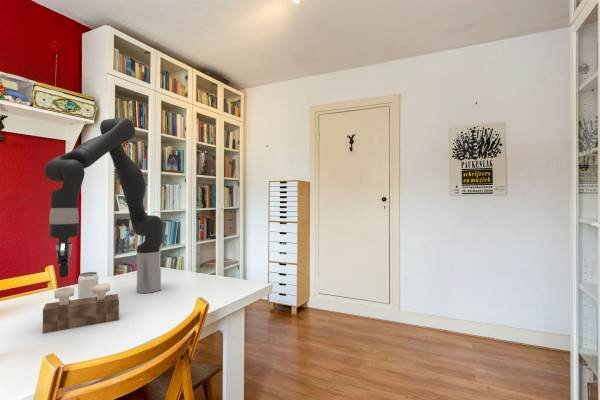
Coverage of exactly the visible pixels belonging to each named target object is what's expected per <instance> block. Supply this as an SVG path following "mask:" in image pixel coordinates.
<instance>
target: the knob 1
mask: <svg viewBox="0 0 600 400" xmlns="http://www.w3.org/2000/svg"><path fill="white" fill-rule="evenodd" d="M74 295H75V288H74V287H62V288H58V289H55V290H54V299H58V300H59V301H58V302H59V306H61V305H68V304H69V300H70V297H74Z"/></svg>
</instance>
